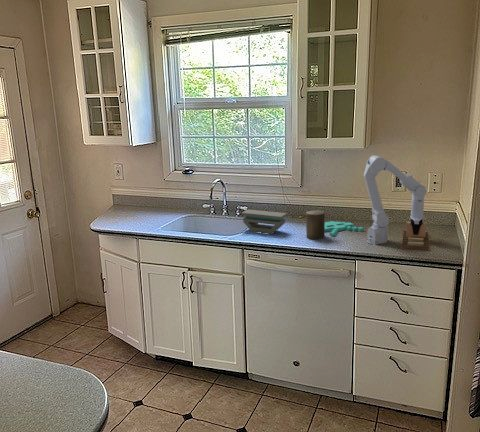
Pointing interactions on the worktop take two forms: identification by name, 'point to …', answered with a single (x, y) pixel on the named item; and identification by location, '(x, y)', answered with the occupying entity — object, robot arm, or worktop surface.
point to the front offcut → (416, 243)
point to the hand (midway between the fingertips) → (415, 234)
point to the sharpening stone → (263, 220)
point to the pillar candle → (315, 224)
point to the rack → (415, 247)
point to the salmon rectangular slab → (421, 232)
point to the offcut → (415, 239)
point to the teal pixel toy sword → (340, 227)
